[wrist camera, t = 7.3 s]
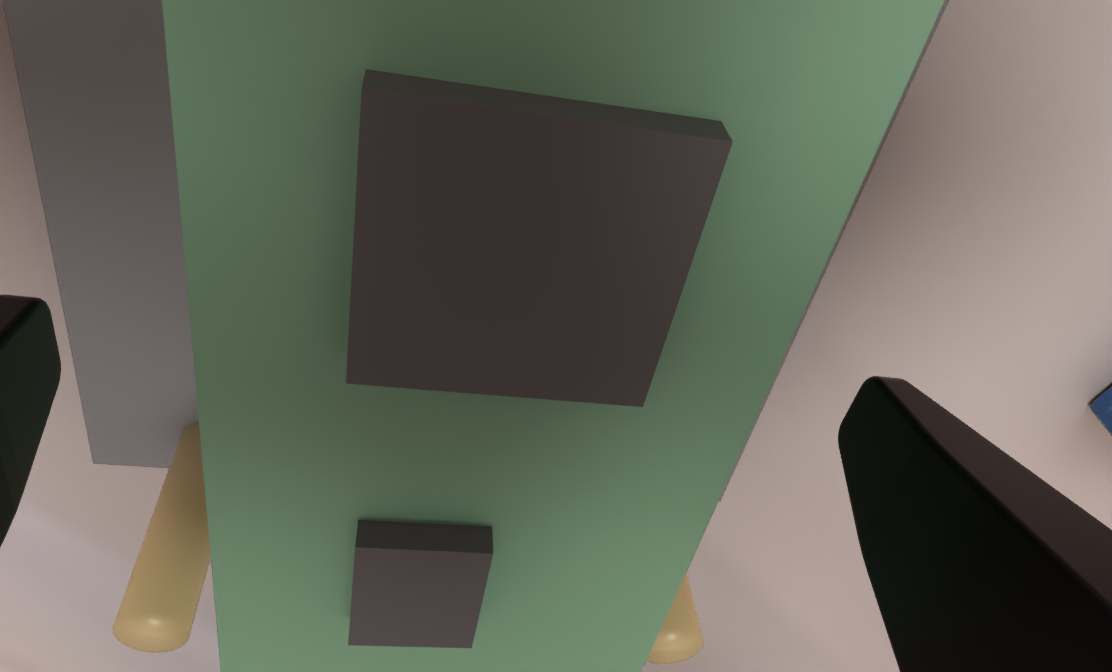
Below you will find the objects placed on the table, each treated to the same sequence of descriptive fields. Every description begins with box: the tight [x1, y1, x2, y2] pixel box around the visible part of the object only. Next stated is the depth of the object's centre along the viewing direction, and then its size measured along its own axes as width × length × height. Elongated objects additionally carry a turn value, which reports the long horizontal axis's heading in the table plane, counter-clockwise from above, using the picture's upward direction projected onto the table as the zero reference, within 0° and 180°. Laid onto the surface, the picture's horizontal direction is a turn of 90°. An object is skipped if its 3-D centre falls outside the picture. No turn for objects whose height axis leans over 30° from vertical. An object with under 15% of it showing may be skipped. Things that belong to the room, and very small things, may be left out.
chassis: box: [3, 0, 949, 664], centre depth 13 cm, size 17×14×6 cm
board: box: [162, 0, 945, 672], centre depth 11 cm, size 12×6×4 cm, turn 169°
